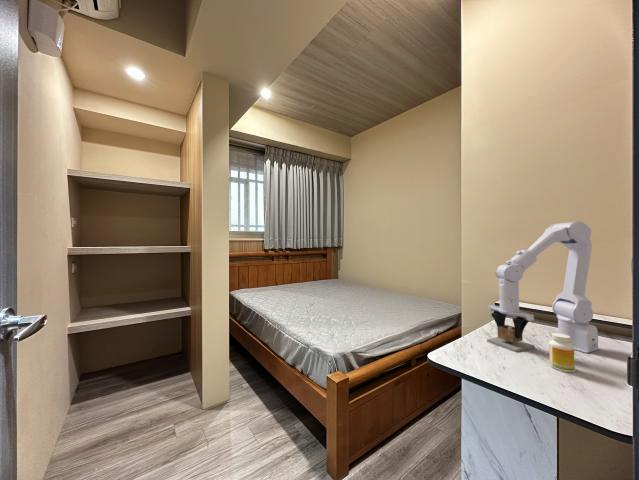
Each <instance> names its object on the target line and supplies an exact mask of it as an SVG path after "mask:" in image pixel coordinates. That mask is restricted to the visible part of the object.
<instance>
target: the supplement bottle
mask: <svg viewBox="0 0 639 480" xmlns="http://www.w3.org/2000/svg"><path fill="white" fill-rule="evenodd" d="M569 342H571V339H570V336H568V335H565V334H560V333H558V332H553V333H551V340H550V341H549V342H548V351H549V352H548V353H549V354H548V355H549V357H548V361H549V366H550V367H551V368H553V369H555V370H557V371H560V372H564V373H573V372H575V371H576V367H575V349H574V346H573V345H572V344H571V343H569Z"/></svg>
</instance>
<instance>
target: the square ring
mask: <svg viewBox="0 0 639 480" xmlns="http://www.w3.org/2000/svg"><path fill="white" fill-rule="evenodd" d="M508 326H511V327H512V329H513V330H510V329H507V327H508ZM497 337H498V338H501V339H504V340H506V341H509V342H512V343H514V342H518V341H523V336H522V337H521V338H518V339H517V338H516V337H515V327H514V326H512V325H509V324H505V325H504V326H499V327H497Z"/></svg>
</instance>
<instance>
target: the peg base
mask: <svg viewBox="0 0 639 480" xmlns="http://www.w3.org/2000/svg"><path fill="white" fill-rule="evenodd" d="M511 326H512V325H509V326H508V327H507V329H510V330H513V329H512V327H511ZM486 342H487V343H490V344H492V345H495V346H499V347H501V348H503V349H506V350H509V351H511V352H514V353H518V352H523V351H526V350H530V349H534V348H535V347H536V346H535V344H531V343H529V342H526V341H523V340H522V341H518V342H514V343H512V342H509V341H506V340H504V339H501V338H498V336H496V337H493V338H488V339H486Z"/></svg>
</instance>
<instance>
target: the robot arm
mask: <svg viewBox="0 0 639 480" xmlns="http://www.w3.org/2000/svg"><path fill="white" fill-rule="evenodd" d="M591 234H592V228H591V227H589V226H588V224H586V223H585V222H584V221H580V220H579V221H571V222H570V221H569V222H555V223H552V224H551V225H550V226H549V227H548V228H545V230H544V232H543V233H542V235H540V237H538V239H536V240H535V242H534V243H532V245H531V246H529V247H528V248H527V249H521V250H517V251H516V252H515V255H513V257H511V258H510V259H509V260H507V261H505V263H504V264H501V265H498V267H497V268H496V271H494V275H495V277H496V278H497V279H498V291H499V293H498V294H499V295H498V296H499V305H492V304H490V305H489V304H488V305H487V309H488V310H487V311H489V312H491V314H490V315H491V317H492V318H493V320H494V321H495V325H496V327H497V328H498V327H499V326H504V325H506V318H507V316H510V317H511V316H512V317H513V318H512V323H513V325H514V326H513V327H515V337H516V338H517V339H518V338H521V337H522V338H523V332H524V331H525V328H526V326H527V325H528V323H529V322H532V321H535V315H534V314H532V313H528V312H525V311H523V310H520V288H519V282H520V281H521V280H522V279H523V276H524V273H525V272H526V271H527V270H528V269H529V268H530V267H532V266H533V265H534V264H535V263H536V262H537V257H538V256H539V255H541V253H543V252H544V251H545V250H547V249H548V248H550V247H551V246H552V245H553V244H555V243H560V244H562V245H564V246H565V247H566V248H567V249H568V254H567V255H568V256H567V261H566V269H565V276H564V283H563V290H562V292H559V293H558V294H557V295H556V297H555V300H554V301H553V302H552V305H551V309H552V312H553V313H554V314H556V318H557V321H558V322H557V326H558V327H557V331H558V332H557V333H560V334H565V335H568V336H570V339H571V342H569V343H571V344H572V345H573V346H574V351H578V352H582V353H585V354H588V353H592V352H595V351H598V350H600V347H599V331H598V328H597V327H596V326H595V325H593V324H590V323H589V322H591V321H592V319H593V318H594V312H593V308H592V304H593V303H592V301H591V300H590V299H588V297H587V296H586V287H587V283H588V282H587V281H588V275H589V269H590V263H591V262H590V260H591V254H592V250H593V249H592V248H593V245H592V244H593V243H592V240H591Z"/></svg>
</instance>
